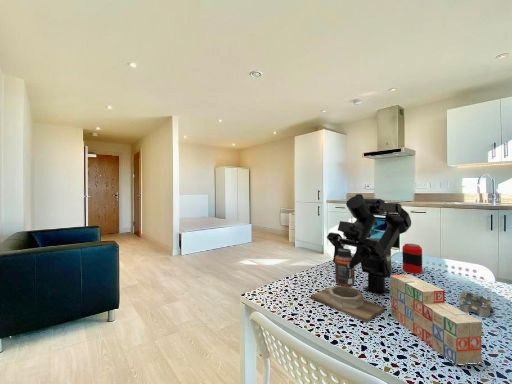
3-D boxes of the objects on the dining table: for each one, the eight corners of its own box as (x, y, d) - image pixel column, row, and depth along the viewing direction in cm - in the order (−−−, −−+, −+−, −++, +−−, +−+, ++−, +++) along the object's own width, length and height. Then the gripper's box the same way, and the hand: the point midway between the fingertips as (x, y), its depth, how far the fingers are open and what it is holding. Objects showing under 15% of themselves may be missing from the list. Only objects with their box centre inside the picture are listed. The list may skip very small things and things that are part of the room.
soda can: (399, 268, 115) (399, 243, 115) (416, 268, 114) (416, 243, 114) (407, 273, 108) (407, 246, 108) (425, 274, 107) (425, 247, 106)
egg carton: (489, 320, 69) (489, 306, 69) (455, 310, 75) (455, 297, 75) (493, 308, 76) (493, 295, 76) (462, 299, 82) (462, 287, 82)
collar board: (329, 290, 90) (329, 279, 90) (384, 310, 75) (384, 297, 75) (310, 298, 84) (310, 286, 84) (366, 322, 68) (366, 308, 68)
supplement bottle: (356, 288, 76) (355, 252, 76) (336, 287, 77) (335, 251, 77) (352, 281, 82) (352, 247, 81) (334, 280, 83) (333, 247, 83)
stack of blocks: (483, 365, 51) (482, 307, 51) (456, 367, 51) (455, 309, 51) (410, 314, 73) (409, 273, 73) (390, 315, 72) (390, 274, 72)
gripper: (329, 210, 89) (308, 244, 83) (377, 214, 73) (355, 257, 67) (344, 229, 93) (324, 263, 88) (392, 237, 77) (372, 278, 72)
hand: (341, 264), depth 78 cm, fingers closed on supplement bottle, 6 cm apart
